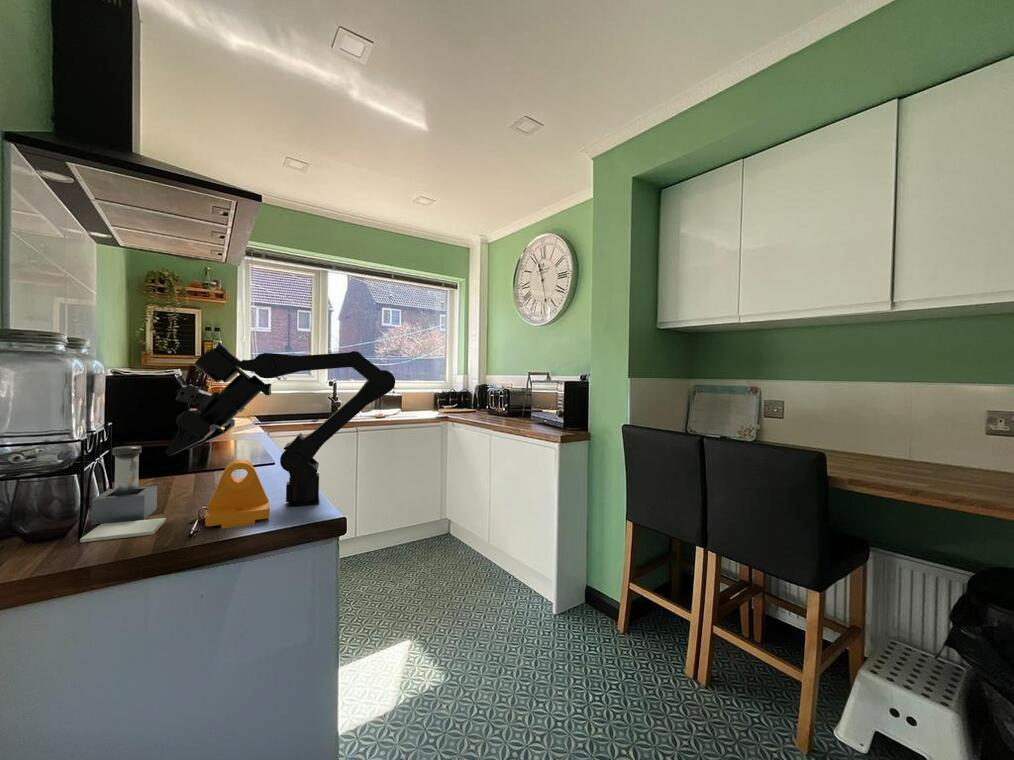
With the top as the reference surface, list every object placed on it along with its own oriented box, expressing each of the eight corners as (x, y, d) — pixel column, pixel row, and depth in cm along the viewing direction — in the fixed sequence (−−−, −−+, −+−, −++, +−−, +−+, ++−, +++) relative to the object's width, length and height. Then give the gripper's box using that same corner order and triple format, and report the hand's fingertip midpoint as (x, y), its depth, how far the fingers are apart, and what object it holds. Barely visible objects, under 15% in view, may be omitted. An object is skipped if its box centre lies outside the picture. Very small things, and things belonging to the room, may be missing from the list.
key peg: (143, 502, 89) (144, 445, 89) (136, 508, 85) (137, 448, 85) (116, 505, 87) (117, 446, 87) (107, 511, 84) (108, 449, 83)
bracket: (204, 531, 80) (206, 468, 80) (207, 519, 86) (208, 461, 86) (269, 521, 85) (271, 463, 85) (267, 511, 92) (268, 457, 92)
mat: (165, 520, 85) (166, 517, 85) (153, 534, 77) (153, 531, 77) (100, 527, 80) (100, 524, 80) (80, 542, 73) (80, 539, 73)
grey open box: (156, 508, 92) (157, 485, 92) (144, 520, 85) (144, 495, 85) (108, 513, 88) (109, 489, 88) (91, 525, 81) (91, 499, 81)
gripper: (217, 374, 101) (163, 423, 97) (187, 370, 83) (119, 430, 79) (256, 405, 103) (204, 454, 99) (234, 407, 85) (170, 467, 82)
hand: (176, 451), depth 90 cm, fingers open, 9 cm apart
